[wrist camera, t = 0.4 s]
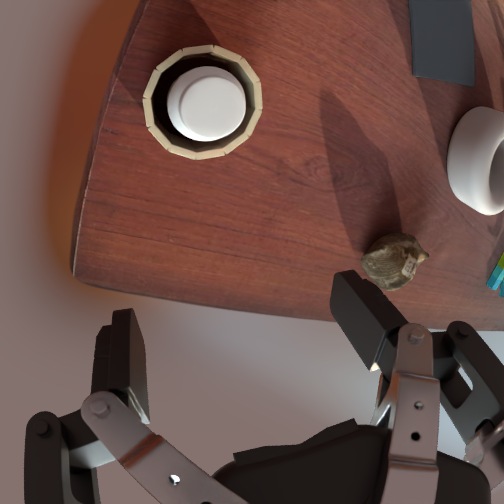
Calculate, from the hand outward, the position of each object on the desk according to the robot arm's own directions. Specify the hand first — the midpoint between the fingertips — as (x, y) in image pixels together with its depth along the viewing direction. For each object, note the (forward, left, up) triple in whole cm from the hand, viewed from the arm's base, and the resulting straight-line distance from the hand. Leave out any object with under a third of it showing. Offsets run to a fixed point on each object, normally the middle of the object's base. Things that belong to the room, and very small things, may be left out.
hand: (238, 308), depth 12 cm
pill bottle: (-6, +1, -20) cm, 21 cm away
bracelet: (-6, +1, -20) cm, 21 cm away
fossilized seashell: (+15, +23, -20) cm, 34 cm away
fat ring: (+2, +39, -20) cm, 44 cm away
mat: (-18, +31, -20) cm, 41 cm away
